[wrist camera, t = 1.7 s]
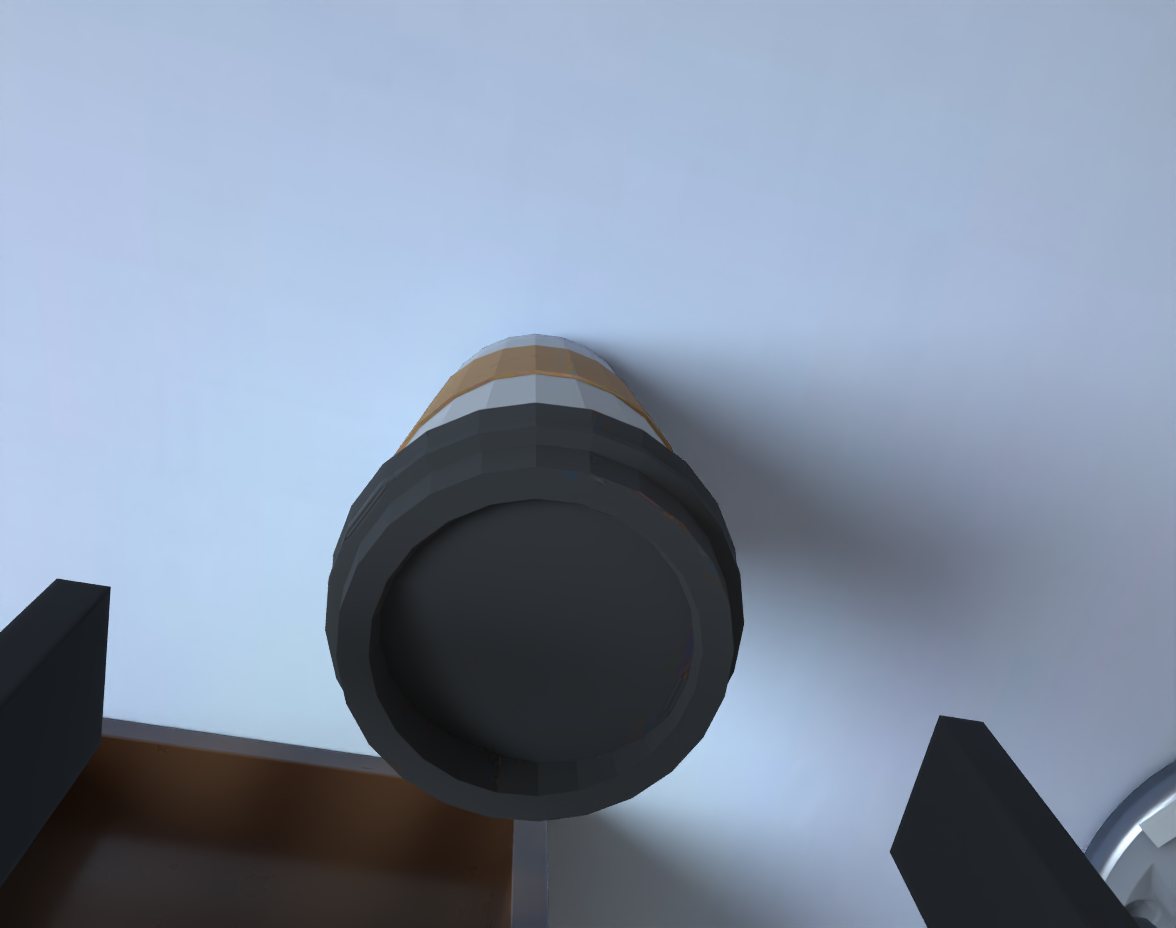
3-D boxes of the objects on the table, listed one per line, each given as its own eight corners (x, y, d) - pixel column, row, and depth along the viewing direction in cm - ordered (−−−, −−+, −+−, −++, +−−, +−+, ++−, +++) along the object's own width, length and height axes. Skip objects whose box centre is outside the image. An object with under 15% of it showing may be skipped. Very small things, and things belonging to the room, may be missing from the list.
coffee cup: (581, 585, 34) (614, 905, 20) (362, 472, 32) (227, 733, 18) (711, 381, 32) (852, 575, 18) (485, 249, 30) (441, 347, 16)
